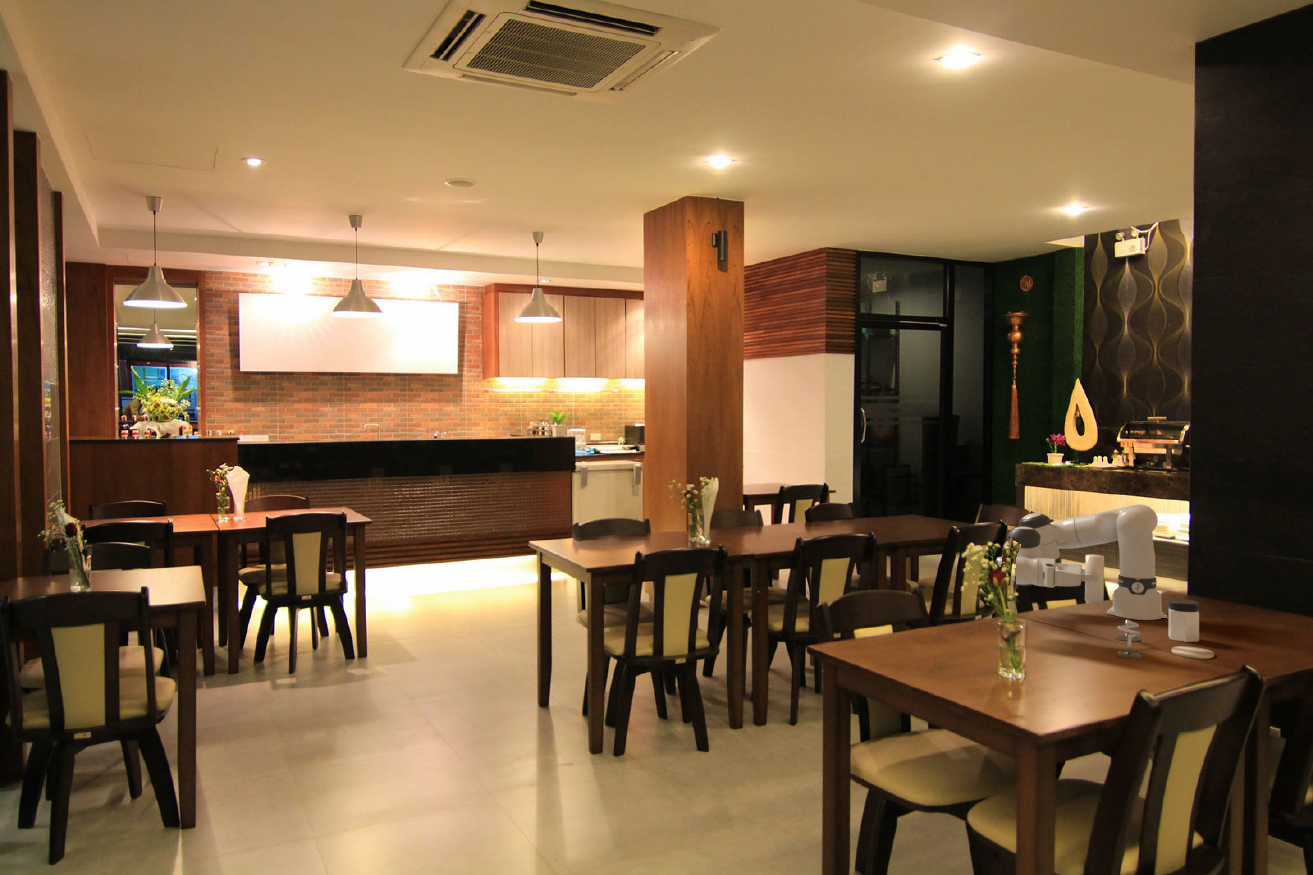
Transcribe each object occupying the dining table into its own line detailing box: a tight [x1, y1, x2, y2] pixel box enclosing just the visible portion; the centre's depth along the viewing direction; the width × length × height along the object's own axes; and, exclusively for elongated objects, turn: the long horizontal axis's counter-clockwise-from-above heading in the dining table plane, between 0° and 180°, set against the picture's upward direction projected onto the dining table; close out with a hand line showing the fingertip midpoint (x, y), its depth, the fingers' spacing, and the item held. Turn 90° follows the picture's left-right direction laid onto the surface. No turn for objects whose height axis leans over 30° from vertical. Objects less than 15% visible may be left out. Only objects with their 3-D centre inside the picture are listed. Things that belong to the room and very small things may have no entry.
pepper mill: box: [1084, 553, 1105, 604], centre depth 279 cm, size 5×5×14 cm
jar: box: [1167, 598, 1200, 643], centre depth 286 cm, size 9×8×12 cm
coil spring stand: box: [1116, 618, 1142, 660], centre depth 276 cm, size 25×6×6 cm, turn 154°
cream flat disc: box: [1170, 645, 1215, 660], centre depth 269 cm, size 11×11×1 cm
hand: (1097, 576), depth 278 cm, fingers closed on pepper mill, 5 cm apart
